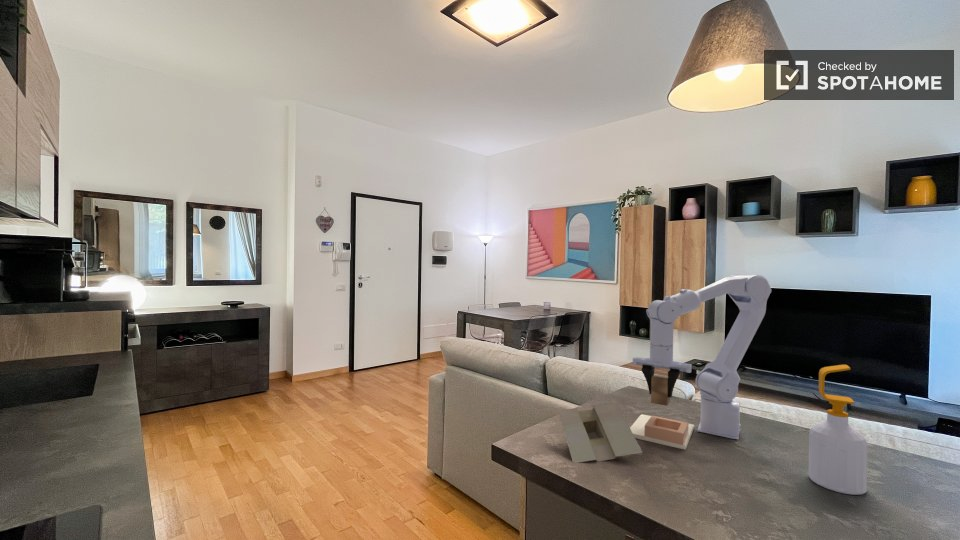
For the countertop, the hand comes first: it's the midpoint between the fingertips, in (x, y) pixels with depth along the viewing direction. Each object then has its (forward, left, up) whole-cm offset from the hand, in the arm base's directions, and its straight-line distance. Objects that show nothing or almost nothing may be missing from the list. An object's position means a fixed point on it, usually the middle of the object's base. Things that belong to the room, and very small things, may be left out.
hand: (660, 395), depth 111 cm
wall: (+10, +21, -10) cm, 26 cm away
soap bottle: (-35, +8, -10) cm, 38 cm away
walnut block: (0, 0, -2) cm, 2 cm away
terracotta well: (-2, +4, -9) cm, 10 cm away
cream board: (0, 0, -10) cm, 10 cm away
